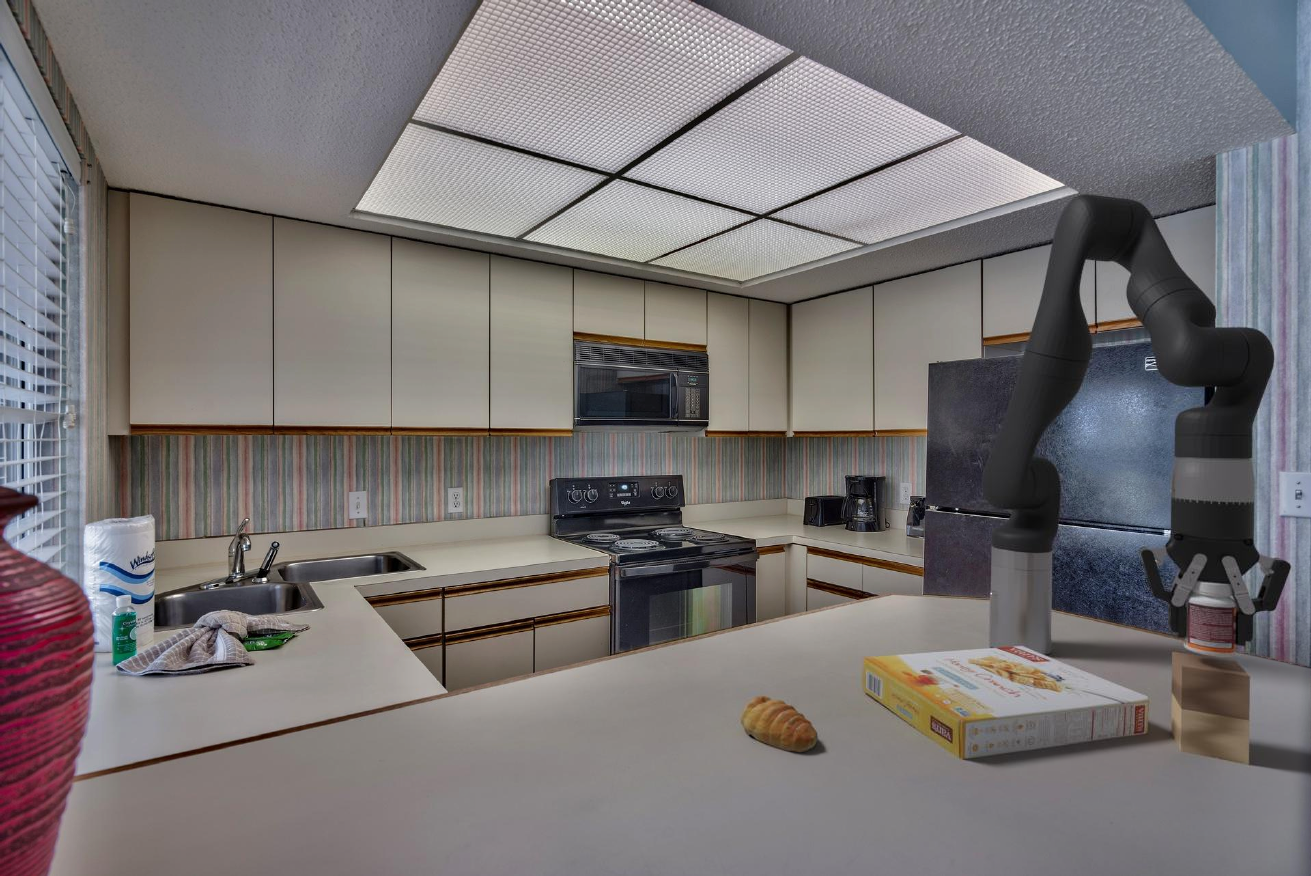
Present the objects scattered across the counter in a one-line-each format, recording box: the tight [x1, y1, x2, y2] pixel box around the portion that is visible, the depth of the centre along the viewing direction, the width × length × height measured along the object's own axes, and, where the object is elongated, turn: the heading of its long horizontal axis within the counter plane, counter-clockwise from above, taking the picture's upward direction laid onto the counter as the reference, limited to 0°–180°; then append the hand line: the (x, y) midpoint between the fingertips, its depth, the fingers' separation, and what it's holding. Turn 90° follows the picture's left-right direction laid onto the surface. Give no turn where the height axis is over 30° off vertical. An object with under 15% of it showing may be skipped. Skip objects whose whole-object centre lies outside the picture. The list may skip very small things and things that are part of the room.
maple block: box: [1170, 692, 1250, 766], centre depth 77 cm, size 6×6×5 cm
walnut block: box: [1171, 651, 1251, 722], centre depth 77 cm, size 6×6×5 cm
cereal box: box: [861, 646, 1150, 760], centre depth 87 cm, size 20×6×28 cm
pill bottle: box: [1182, 579, 1237, 658], centre depth 77 cm, size 5×5×8 cm
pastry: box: [740, 695, 819, 753], centre depth 78 cm, size 9×7×4 cm
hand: (1209, 639), depth 77 cm, fingers closed on pill bottle, 4 cm apart
